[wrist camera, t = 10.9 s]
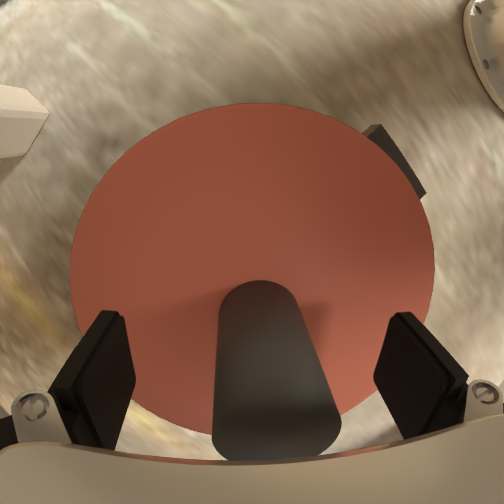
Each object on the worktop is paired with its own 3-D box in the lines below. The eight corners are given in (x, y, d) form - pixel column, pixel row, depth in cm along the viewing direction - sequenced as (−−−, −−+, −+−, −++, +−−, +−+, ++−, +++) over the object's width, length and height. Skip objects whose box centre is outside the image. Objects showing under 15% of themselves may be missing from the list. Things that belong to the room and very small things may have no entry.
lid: (83, 118, 12) (-60, 109, 4) (426, 134, 13) (570, 148, 5) (120, 399, 17) (84, 512, 9) (371, 397, 18) (420, 500, 10)
